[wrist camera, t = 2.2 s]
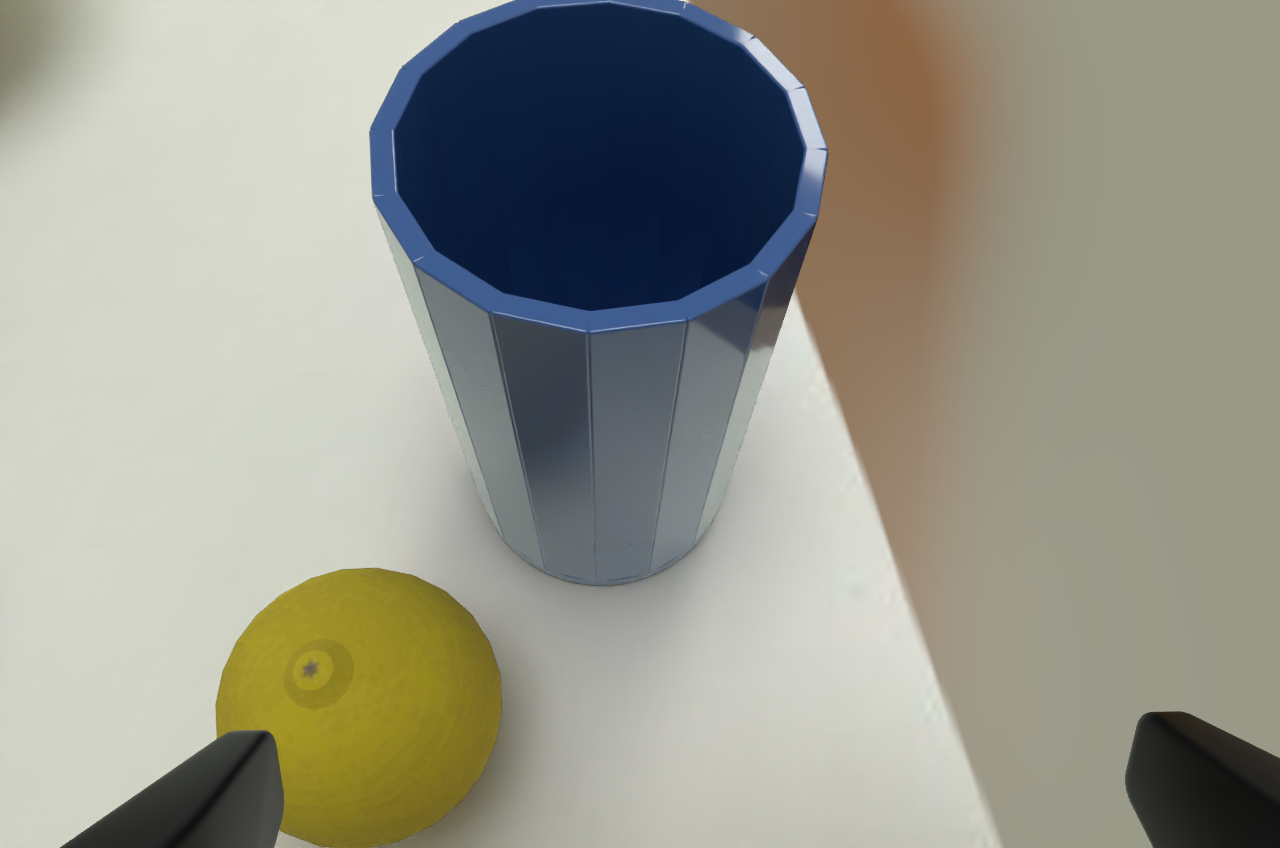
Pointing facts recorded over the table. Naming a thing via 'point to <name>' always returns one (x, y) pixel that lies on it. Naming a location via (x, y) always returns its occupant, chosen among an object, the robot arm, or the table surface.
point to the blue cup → (598, 261)
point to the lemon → (366, 703)
